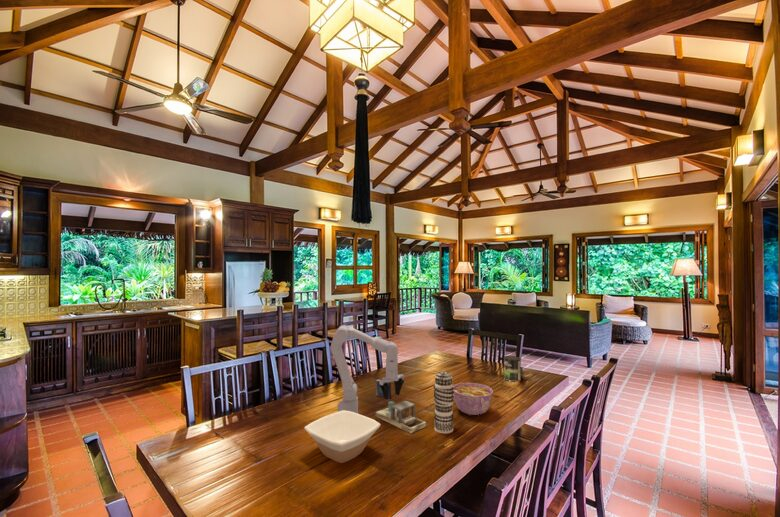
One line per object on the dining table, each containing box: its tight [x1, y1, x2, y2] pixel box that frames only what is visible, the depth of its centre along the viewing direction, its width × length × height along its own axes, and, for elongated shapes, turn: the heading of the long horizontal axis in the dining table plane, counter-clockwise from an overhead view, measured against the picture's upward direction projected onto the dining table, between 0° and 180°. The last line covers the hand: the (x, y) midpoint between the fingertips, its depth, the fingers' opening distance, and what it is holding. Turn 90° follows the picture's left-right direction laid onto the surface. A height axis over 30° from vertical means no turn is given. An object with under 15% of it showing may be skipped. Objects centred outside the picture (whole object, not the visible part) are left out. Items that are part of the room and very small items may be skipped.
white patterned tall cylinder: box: [433, 371, 455, 435], centre depth 159 cm, size 9×9×25 cm
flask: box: [375, 376, 392, 399], centre depth 198 cm, size 9×3×11 cm, turn 65°
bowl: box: [304, 410, 381, 464], centre depth 139 cm, size 24×25×11 cm
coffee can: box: [503, 355, 521, 382], centre depth 229 cm, size 10×10×14 cm
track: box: [375, 400, 427, 434], centre depth 166 cm, size 10×24×8 cm, turn 42°
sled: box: [385, 400, 416, 423], centre depth 166 cm, size 6×14×5 cm, turn 42°
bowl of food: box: [452, 382, 494, 416], centre depth 177 cm, size 20×20×12 cm
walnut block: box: [397, 408, 410, 419], centre depth 165 cm, size 4×4×4 cm
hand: (391, 396), depth 171 cm, fingers open, 7 cm apart
